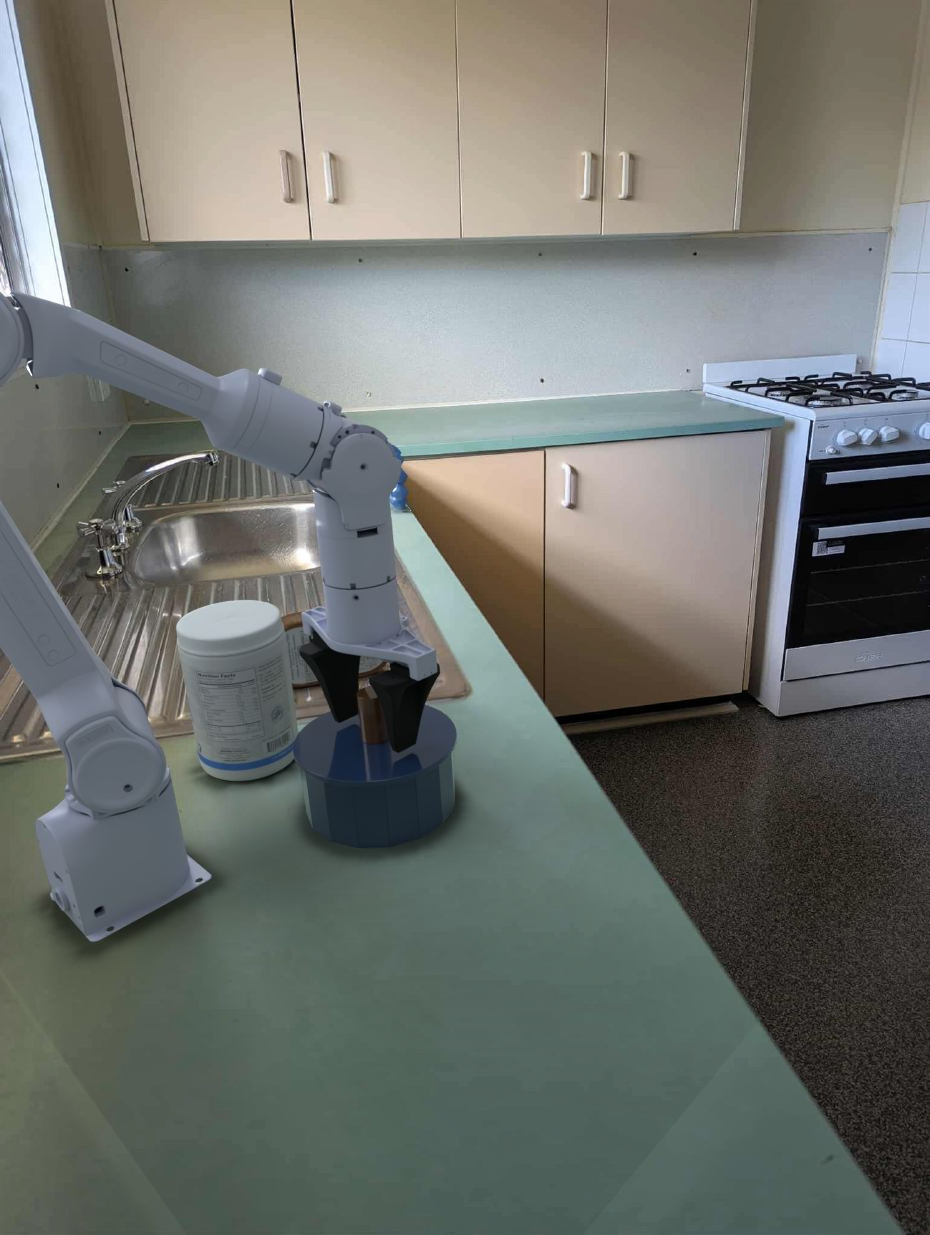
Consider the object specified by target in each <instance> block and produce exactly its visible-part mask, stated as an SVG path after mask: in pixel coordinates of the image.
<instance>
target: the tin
mask: <svg viewBox="0 0 930 1235" xmlns="http://www.w3.org/2000/svg"><path fill="white" fill-rule="evenodd" d="M305 611H306V610H302V611H295V612H291V613H287V614H285V615H283V616H282V615H281V619H282V622H283V625H284V631H285V637H286V644H287V651H288V659H289V667H290V674H291V682H292V688H305V687H310V686H317V685H320V684H319V682H318V680H317V678H316V677H315V675H314V673H313V672H312V670H311V669H310V667H309V666H308V664H307V663H306V662H305V661H304V659H303V658H302V657H301V656H300V653H299V648H300V647H301V646H302V645H305V644H307V643H310V642H311V639H312V638H313V636H309V635H307V634H305V633H304V630H303V622H302V615H301V613H302V612H305ZM387 664H388V663H387V662H385V661H382V660H380V659H377V658H371V657H365V656H361V658H360V665H359V678H361V677H366V676H367V677H368V676H370V675H373V674H375V673H377V672H379V671H381V670H382V669H383V668H384V667H386V665H387Z"/></svg>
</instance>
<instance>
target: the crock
mask: <svg viewBox="0 0 930 1235" xmlns="http://www.w3.org/2000/svg"><path fill="white" fill-rule="evenodd" d="M453 752H454V751H453ZM453 752H452V754H451V755H450V756H449V757H448V758H447V759H446V760H445V761H444V762H443V763H442V764H441V765H439V766H438V767H436V768H435V769H433V770H431V771H429V772H427V773H425V774H423V775H421V776H419V777H416V778H413V779H410V780H407V781H404V782H400V783H396V784H391V785H384V786H376V787H345V786H339V785H333V784H329V783H325V782H322V781H320V780H317V779H315V778H313V777H311V776H309V775H308V774H306V773H305V772H303V771H302V770H301V769H300V768H299V770H300V771H299V772H300V777H301V778H300V779H301V786H302V791H303V792H302V793H303V798H304V806H305V807H304V808H305V813H306V817H307V819H308V821H309V823H310V826H311V829H312V830H313V831H314V832H316V833H317V834H319V835H320V836H321V837H323V838H324V839H326V840H328V841H329V842H330V843H334V844H339V845H342V846H343V845H344V846H348V847H352V848H356V849H373V848H390V847H395V846H398V845H399V846H400V845H401V844H405V843H409V842H412V841H416V840H419V839H421V838H424V837H425V836H427V835H428V834H429V833H431V832H433V831H435V830H436V829H438V828H439V827H441V826H442V825H443V824H444V823H445V822H446V821H447V819H448V818H449V817H450V815H451V813H452V812H453V811H454V810H455V808H456V805H455V804H456V786H455V785H456V784H455V770H454V755H453Z"/></svg>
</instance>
